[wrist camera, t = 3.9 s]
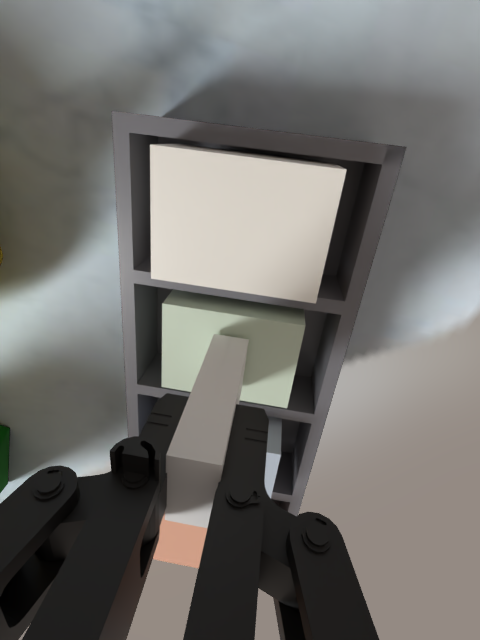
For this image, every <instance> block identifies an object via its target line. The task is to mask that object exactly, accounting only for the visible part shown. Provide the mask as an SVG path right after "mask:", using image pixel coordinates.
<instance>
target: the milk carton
mask: <svg viewBox="0 0 480 640" xmlns="http://www.w3.org/2000/svg"><path fill="white" fill-rule="evenodd" d="M9 436H10V428H8V427H5V426H2V425H0V493H1V492H2V490H3V489H4V488H5V486H6V485H7V484H8V467H9Z"/></svg>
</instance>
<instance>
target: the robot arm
mask: <svg viewBox="0 0 480 640" xmlns="http://www.w3.org/2000/svg"><path fill="white" fill-rule="evenodd" d="M248 341H249V339H243V338H237V337H230V336H224V335H218V334H214V335H213V338H212V340H211V343H210V345H209V348H208V350H207V353H206V355H205V358H204V360H203V363H202V366H201V368H200V371H199V373H198V376H197V378H196V381H195V383H194V386H193V388H192V391H191V393H190V396H189V397H187V396H181V395H175V394H169V393H166V394H165V395H164V396H163V397H161V398H160V399H159V400H158V401H157V402H156V403H155V405H154V407H153V409H152V411H151V414H150V415H149V417H148V419H147V421H146V423H145V425H144V427H143V429H142V431H141V433H140V435H139V436H134V437H130V438H126V439H123V440H122V441H120V442H118V443H117V444H115V446H114V447H113V448H112V449H111V450H110V460H111V471H110V472H108V473H105V474H101V475H95V476H85V477H77V476H76V473H75V472H74V471H73V470H72V469H70V468H69V467H64V466H52V467H48V468H45V469H42V470H40V471H38V472H37V473H35V474H34V475H32V476H31V477H29V478H28V479H27V480H26V481H25V482H24V483H23V484H22V485H21V486H19V487H18V488H17V489H16V490H15V491H14V492H13V493H12V494H11V495H10V496H8V497H7V498H6V499H5V500H4V501H3V502H2V503H1V504H0V640H18V639H19V638H20V637H21V635H22V634H23V633H24V631H25V630H26V629H27V627H28V626H29V625H30V626H29V628H28V630H27V631H26V633H25V635H24V637H23V639H22V640H126V639H127V636H128V633H129V629H130V626H131V623H132V620H133V617H134V614H135V611H136V608H137V605H138V602H139V598H140V596H141V593H142V590H143V587H144V584H145V581H146V577H147V574H148V571H149V568H150V565H151V562H152V559H153V556H154V553H155V550H156V547H157V544H158V541H159V534H160V524H161V521H162V518H163V516H164V513H165V520H167V521H173V522H178V523H183V524H188V525H193V526H198V527H203V528H207V533H206V537H205V542H204V546H203V551H202V556H201V560H200V565H199V569H198V574H197V579H196V583H195V588H194V593H193V597H192V602H191V606H190V611H189V615H188V620H187V625H186V630H185V634H184V639H183V640H254V637H255V624H256V623H255V622H256V610H257V597H258V588H259V589H261V590H263V591H264V592H266V593H267V594H269V595H270V596H272V597H273V598H274V604H275V610H276V616H277V622H278V628H279V634H280V640H379V638H378V635H377V632H376V630H375V626H374V624H373V621H372V618H371V616H370V613H369V610H368V607H367V604H366V601H365V599H364V596H363V593H362V591H361V587H360V585H359V582H358V579H357V576H356V574H355V571H354V568H353V565H352V562H351V560H350V557H349V554H348V552H347V549H346V546H345V543H344V540H343V537H342V535H341V533H340V532H339V530H338V528H337V526H336V525H335V524H334V523H333V522H332V521H331V520H330V519H328V518H327V517H325V516H323V515H321V514H319V513H313V512H306V513H302V514H299V515H298V516H295V515H293V514H291V513H289V512H287V511H285V510H283V509H282V508H280V507H279V506H277V505H276V504H275V503H274V502H273V501H272V500H271V498H270V497H269V495H268V494H267V491H266V488H265V481H264V479H265V466H266V453H267V440H268V427H269V419H268V417H267V414H266V412H265V410H264V409H262V408H256V407H250V406H244V405H239V401H240V396H241V391H242V384H243V377H244V370H245V363H246V356H247V349H248ZM30 623H31V624H30Z"/></svg>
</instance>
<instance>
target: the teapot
mask: <svg viewBox="0 0 480 640" xmlns="http://www.w3.org/2000/svg"><path fill="white" fill-rule="evenodd" d="M2 260H3V254H2V250H1V247H0V265H1V263H2Z"/></svg>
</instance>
